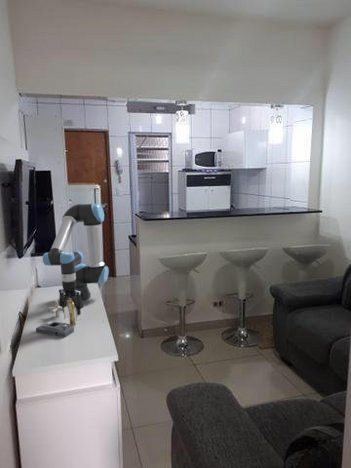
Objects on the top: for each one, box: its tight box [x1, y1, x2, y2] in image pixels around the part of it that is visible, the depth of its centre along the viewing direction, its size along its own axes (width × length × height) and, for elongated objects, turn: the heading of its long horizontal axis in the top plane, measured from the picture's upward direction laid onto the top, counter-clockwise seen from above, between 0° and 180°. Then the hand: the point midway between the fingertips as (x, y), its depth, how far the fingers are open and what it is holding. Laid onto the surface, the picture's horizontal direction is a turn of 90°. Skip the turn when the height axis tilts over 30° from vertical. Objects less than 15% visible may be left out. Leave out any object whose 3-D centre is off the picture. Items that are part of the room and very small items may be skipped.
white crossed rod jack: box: [48, 300, 63, 318], centre depth 213 cm, size 10×10×10 cm
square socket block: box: [35, 321, 75, 338], centre depth 193 cm, size 7×20×5 cm, turn 67°
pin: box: [67, 298, 76, 326], centre depth 201 cm, size 4×4×15 cm
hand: (72, 319), depth 202 cm, fingers open, 8 cm apart
